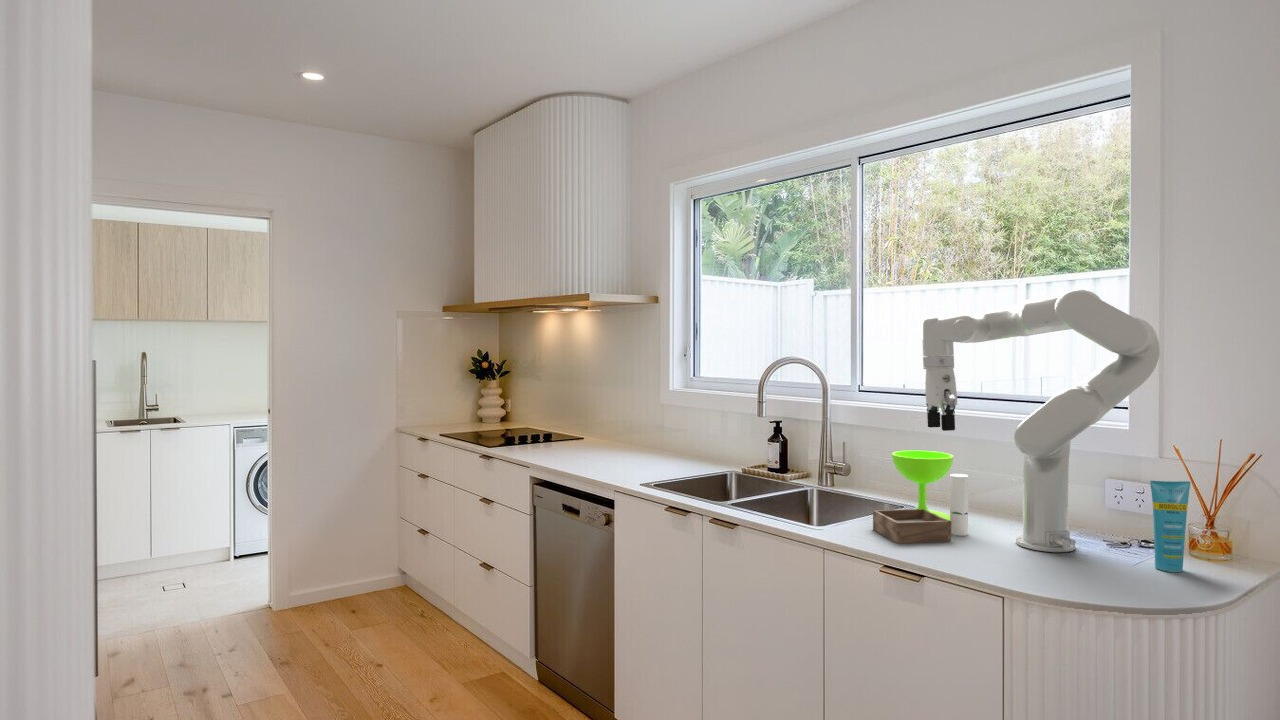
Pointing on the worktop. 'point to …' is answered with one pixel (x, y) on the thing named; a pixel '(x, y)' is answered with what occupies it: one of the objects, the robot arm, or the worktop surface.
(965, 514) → the tube
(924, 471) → the wineglass
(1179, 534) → the tube
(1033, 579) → the worktop surface
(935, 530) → the open wooden box
